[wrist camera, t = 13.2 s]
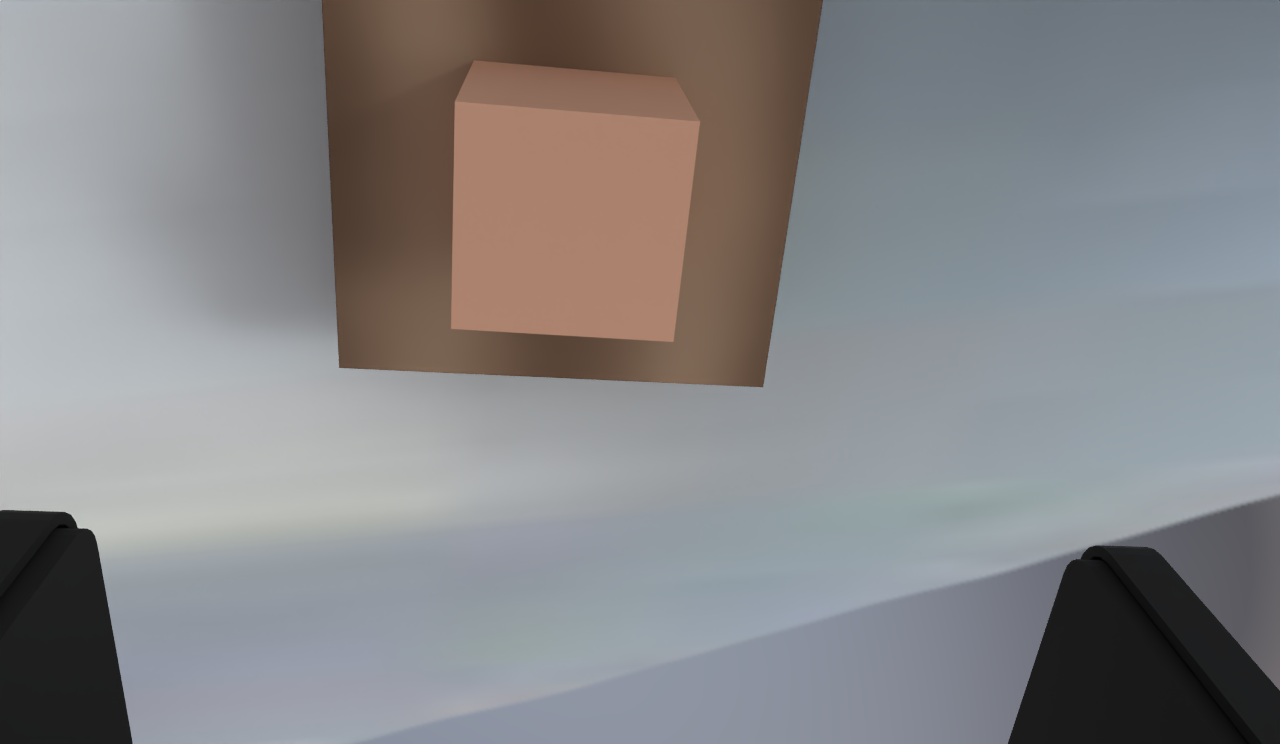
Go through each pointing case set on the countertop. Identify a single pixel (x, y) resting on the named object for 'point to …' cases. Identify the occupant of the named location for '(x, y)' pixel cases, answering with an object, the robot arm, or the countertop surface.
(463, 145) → the terracotta cube
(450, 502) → the countertop surface
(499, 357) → the walnut base
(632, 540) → the countertop surface
